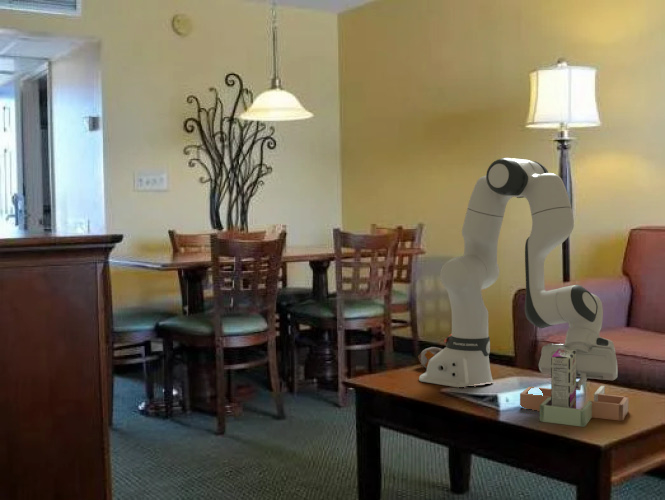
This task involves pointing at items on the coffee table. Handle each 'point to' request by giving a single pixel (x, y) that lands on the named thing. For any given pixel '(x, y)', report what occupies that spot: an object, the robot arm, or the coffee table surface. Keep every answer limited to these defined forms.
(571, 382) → the candy bar box
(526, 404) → the channel
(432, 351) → the decorative duck model
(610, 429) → the coffee table surface
